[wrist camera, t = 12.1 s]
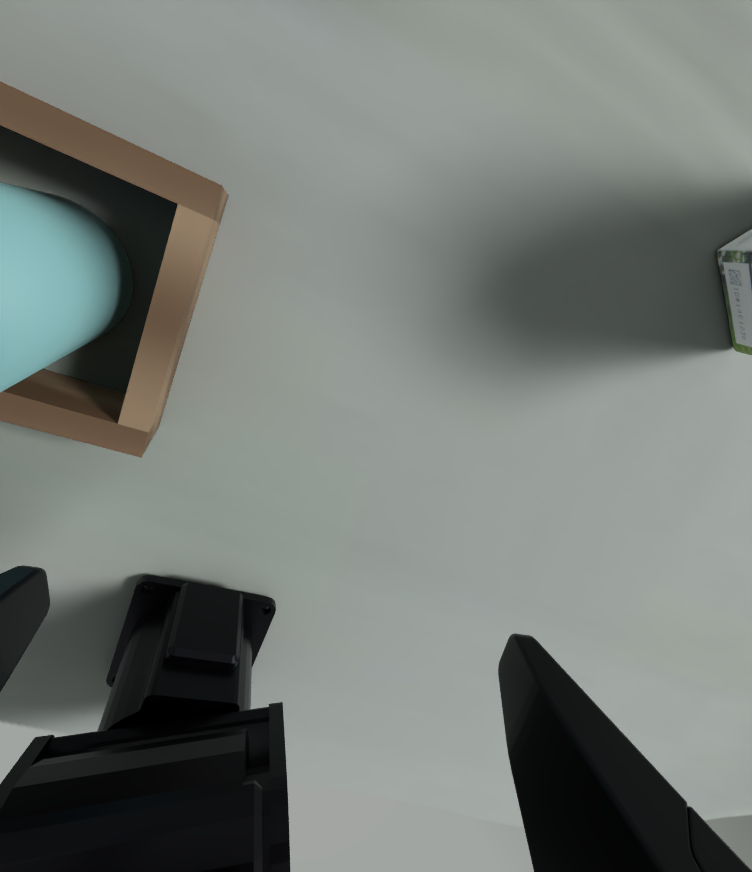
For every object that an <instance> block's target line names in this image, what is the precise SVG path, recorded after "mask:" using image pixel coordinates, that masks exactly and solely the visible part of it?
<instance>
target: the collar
mask: <svg viewBox="0 0 752 872" xmlns="http://www.w3.org/2000/svg"><path fill="white" fill-rule="evenodd" d="M0 126H2V127H4V128H7V129H9V130H11V131H13V132H16V133H18V134H20V135H22V136H25V137H27V138H29V139H31V140H34V141H36V142H38V143H40V144H43V145H45V146H47V147H49V148H52V149H54V150H56V151H58V152H61V153H63V154H65V155H67V156H70V157H72V158H74V159H77V160H79V161H81V162H83V163H86V164H88V165H90V166H92V167H95V168H97V169H99V170H101V171H104V172H106V173H108V174H110V175H113V176H115V177H117V178H119V179H122V180H124V181H126V182H128V183H131V184H133V185H135V186H137V187H140V188H142V189H144V190H146V191H149V192H151V193H153V194H155V195H158V196H160V197H162V198H164V199H167V200H169V201H171V202H173V203H176V204H178V206H177V209H176V213H175V216H174V220H173V224H172V227H171V231H170V235H169V238H168V242H167V246H166V249H165V253H164V257H163V260H162V264H161V268H160V271H159V275H158V279H157V282H156V286H155V289H154V293H153V297H152V300H151V304H150V308H149V311H148V315H147V319H146V322H145V326H144V330H143V333H142V337H141V341H140V344H139V348H138V351H137V355H136V359H135V362H134V366H133V370H132V373H131V377H130V381H129V384H128V388H127V392H126V394H124V393H121V392H118V391H114V390H111V389H108V388H104V387H101V386H98V385H95V384H91V383H88V382H85V381H81V380H78V379H75V378H71V377H68V376H65V375H61V374H58V373H55V372H52V371H48V370H45V369H41V370H39V371H38V372H36V373H34V374H32V375H30V376H29V377H27V378H25V379H23V380H22V381H20V382H18V383H16V384H14V385H13V386H11V387H9V388H7V389H6V390H4V391H2V392H0V420H1V421H5V422H8V423H12V424H16V425H20V426H24V427H27V428H31V429H35V430H39V431H43V432H46V433H50V434H54V435H58V436H62V437H65V438H69V439H73V440H77V441H81V442H84V443H88V444H92V445H96V446H100V447H103V448H107V449H111V450H115V451H119V452H122V453H126V454H130V455H134V456H138V457H142V455H143V454H144V452H145V450H146V448H147V447H148V445H149V443H150V441H151V440H152V438H153V436H154V435H155V433H156V431H157V429H158V427H159V424H160V421H161V418H162V414H163V411H164V408H165V404H166V401H167V398H168V394H169V391H170V388H171V384H172V381H173V378H174V374H175V371H176V368H177V364H178V361H179V358H180V354H181V351H182V348H183V344H184V341H185V338H186V334H187V331H188V328H189V324H190V321H191V318H192V314H193V311H194V308H195V304H196V301H197V298H198V294H199V291H200V288H201V284H202V281H203V278H204V274H205V271H206V268H207V265H208V261H209V258H210V255H211V251H212V248H213V245H214V241H215V238H216V235H217V231H218V228H219V225H220V221H221V218H222V215H223V211H224V208H225V205H226V201H227V198H228V194H227V193H226V191H225V190H224V188H223V187H222V185H219V184H217V183H215V182H213V181H211V180H209V179H207V178H205V177H202V176H200V175H198V174H196V173H194V172H192V171H190V170H188V169H185V168H183V167H181V166H179V165H177V164H175V163H173V162H171V161H168V160H166V159H164V158H162V157H160V156H158V155H156V154H154V153H151V152H149V151H147V150H145V149H143V148H141V147H139V146H137V145H134V144H132V143H130V142H128V141H126V140H124V139H122V138H120V137H117V136H115V135H113V134H111V133H109V132H107V131H105V130H103V129H100V128H98V127H96V126H94V125H92V124H90V123H88V122H86V121H83V120H81V119H79V118H77V117H75V116H73V115H71V114H69V113H66V112H64V111H62V110H60V109H58V108H56V107H54V106H52V105H49V104H47V103H45V102H43V101H41V100H39V99H37V98H34V97H32V96H30V95H28V94H26V93H24V92H22V91H20V90H17V89H15V88H13V87H11V86H9V85H7V84H5V83H3V82H0Z"/></svg>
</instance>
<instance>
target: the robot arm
mask: <svg viewBox="0 0 752 872" xmlns="http://www.w3.org/2000/svg"><path fill="white" fill-rule="evenodd" d="M144 586H151V587H152V589H147V588H145V587H144ZM49 606H50V597H49V589H48V581H47V574H46V572H45V570H44V569H42V568H38V567H31V566H17V567H15V568H12V569H10V570H8V571H6V572H4V573H1V574H0V691H1V690H2V688H3V687H4V685H5V683H6V682H7V680H8V679H9V677H10V675H11V674H12V672H13V670H14V668H15V667H16V665H17V663H18V662H19V660H20V658H21V657H22V655H23V653H24V652H25V650H26V648H27V647H28V645H29V643H30V642H31V640H32V638H33V636H34V635H35V633H36V631H37V630H38V628H39V626H40V625H41V623H42V621H43V620H44V618H45V616H46V614H47V612H48V610H49ZM263 607H269V608H268V609H262V608H263ZM275 611H276V604H275V601H274V600H273V599H272V598H269V597H264V596H259V595H253V594H248V593H243V592H237V591H232V590H226V589H221V588H216V587H210V586H205V585H199V584H194V583H189V582H183V581H178V580H172V579H167V578H162V577H156V576H144V577H142V578H141V579H139V581H138V583H137V586H136V588H135V591H134V594H133V598H132V601H131V604H130V607H129V610H128V613H127V616H126V620H125V623H124V626H123V629H122V632H121V635H120V638H119V642H118V645H117V648H116V651H115V654H114V657H113V660H112V664H111V667H110V670H109V673H108V676H107V680H106V682H107V684H108V685H109V686H110V687H112V690H111V693H110V696H109V699H108V702H107V704H106V707H105V710H104V713H103V716H102V719H101V722H100V725H99V728H98V731H97V732H90V733H83V734H76V735H69V736H62V737H54V735H48V736H42V737H36V738H34V740H33V741H32V742H31V744H30V745H29V746H28V748H27V749H26V750H25V752H24V753H23V754H22V756H21V757H20V758H19V760H18V761H17V763H16V764H15V765H14V766H13V768H12V769H11V771H10V772H9V773H8V775H7V776H6V777H5V779H4V780H3V781H2V783H1V784H0V872H290V847H289V816H288V793H287V772H286V755H285V738H284V720H283V703H282V702H280V703H273V704H269V707H264V708H257V709H250V706H251V670H252V666H253V664H254V661H255V659H256V657H257V654H258V652H259V649H260V647H261V645H262V642H263V640H264V638H265V635H266V633H267V631H268V628H269V626H270V624H271V621H272V619H273V617H274V614H275ZM498 675H499V683H500V692H501V700H502V708H503V716H504V725H505V733H506V741H507V748H508V755H509V760H510V765H511V770H512V775H513V779H514V784H515V788H516V793H517V797H518V802H519V806H520V811H521V815H522V819H523V824H524V828H525V833H526V837H527V842H528V846H529V851H530V855H531V860H532V864H533V869H534V872H752V870H751V869H750V868H749V867H748V866H747V865H746V864H745V863H744V862H743V861H742V860H741V859H740V858H739V857H738V856H737V855H736V854H735V853H734V852H733V851H732V850H731V849H730V847H729V846H728V845H727V844H726V843H725V842H724V841H723V840H722V839H721V838H720V837H719V836H718V835H717V834H716V833H715V832H714V831H713V830H712V829H711V828H710V827H709V825H708V824H707V823H706V822H705V821H704V820H703V819H702V818H701V817H700V816H699V815H698V814H697V812H696V811H695V810H694V809H693V808H692V807H690V806H688V807H687V802H686V801H685V800H684V799H683V798H682V797H681V795H680V794H679V793H678V792H677V791H676V790H675V789H674V788H673V787H672V786H671V785H670V784H669V783H668V781H667V780H666V779H665V778H664V777H663V776H662V775H661V774H660V773H659V772H658V771H657V770H656V769H655V767H654V766H653V765H652V764H651V763H650V762H649V761H648V760H647V759H646V758H645V757H644V756H643V755H642V753H641V752H640V751H639V750H638V749H637V748H636V747H635V746H634V745H633V744H632V743H631V742H630V741H629V739H628V738H627V737H626V736H625V735H624V734H623V733H622V732H621V731H620V730H619V729H618V728H617V727H616V725H615V724H614V723H613V722H612V721H611V720H610V719H609V718H608V717H607V716H606V715H605V714H604V713H603V711H602V710H601V709H600V708H599V707H598V706H597V705H596V704H595V703H594V702H593V701H592V700H591V699H590V697H589V696H588V695H587V694H586V693H585V692H584V691H583V690H582V689H581V688H580V687H579V686H578V684H577V683H576V682H575V681H574V680H573V679H572V678H571V677H570V676H569V675H568V674H567V673H566V672H565V670H564V669H563V668H562V667H561V666H560V665H559V664H558V663H557V662H556V661H555V660H554V659H553V658H552V656H551V655H550V654H549V653H548V652H547V651H546V650H545V649H544V648H543V647H542V646H541V645H540V644H539V642H538V641H537V640H536V639H535V638H533V637H532V636H529V635H522V634H512V635H511V636H510V637H509V639H508V641H507V644H506V647H505V649H504V652H503V654H502V657H501V659H500V662H499V668H498Z"/></svg>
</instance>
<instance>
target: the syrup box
mask: <svg viewBox="0 0 752 872" xmlns="http://www.w3.org/2000/svg"><path fill="white" fill-rule="evenodd" d="M717 257H718V262H719V269H720V274H721V279H722V285H723V290H724V296H725V302H726V308H727V313H728V318H729V325H730V331H731V337H732V342H733V346H734V350H735V351H738V352H741V353H745V354H749V355H752V229H750V230H749V231H747V232H746V233H744V234H743V235H741V236H739V237H738V238H736V239H734V240H733V241H731V242H730V243H728V244H727V245H725V246H723V247H722V248H720V249H718V251H717Z"/></svg>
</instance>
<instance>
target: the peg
mask: <svg viewBox="0 0 752 872" xmlns="http://www.w3.org/2000/svg"><path fill="white" fill-rule="evenodd" d="M132 289H133V279H132V271H131V267H130V263H129V260H128V257H127V255H126V252H125V250H124V248H123V246H122V244H121V243H120V241H119V240H118V238H117V237H116V235H115V234H114V233H113V231H112V230H111V229H110V228H109V227H108V226H107V225H106V224H105V223H104V222H103V221H102V220H101V219H100V218H99V217H98V216H96V215H95V214H94V213H93V212H91V211H90V210H88V209H87V208H85V207H83V206H82V205H80V204H78V203H76V202H74V201H72V200H69V199H67V198H64V197H61V196H57V195H53V194H49V193H44V192H40V191H36V190H31V189H27V188H22V187H18V186H14V185H9V184H5V183H1V182H0V392H2V391H4V390H6V389H7V388H9V387H11V386H13V385H14V384H16V383H18V382H20V381H22V380H23V379H25V378H27V377H29V376H30V375H32V374H34V373H36V372H38V371H39V370H41V369H43V368H45V367H46V366H48V365H50V364H52V363H54V362H55V361H57V360H59V359H61V358H62V357H64V356H66V355H68V354H70V353H71V352H73V351H75V350H77V349H78V348H80V347H82V346H84V345H86V344H87V343H89V342H91V341H93V340H94V339H96V338H98V337H100V336H102V335H103V334H105V333H107V332H108V331H110V330H111V329H112V328H114V327H115V326H116V325H117V324H118V323H119V321H120V320H121V319H122V317H123V316H124V314H125V313H126V311H127V309H128V306H129V303H130V301H131V296H132Z"/></svg>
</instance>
